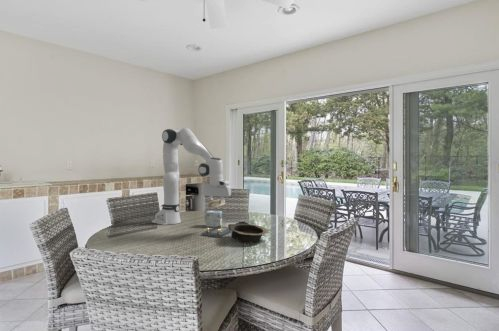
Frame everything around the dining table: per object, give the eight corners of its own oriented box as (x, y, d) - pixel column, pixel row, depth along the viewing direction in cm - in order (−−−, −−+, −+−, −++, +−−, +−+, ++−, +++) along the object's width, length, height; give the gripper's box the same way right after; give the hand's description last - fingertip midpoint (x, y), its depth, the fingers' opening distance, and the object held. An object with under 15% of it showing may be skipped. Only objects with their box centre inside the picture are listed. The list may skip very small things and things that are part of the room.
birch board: (208, 206, 188) (208, 202, 188) (218, 203, 200) (218, 199, 200) (215, 207, 186) (214, 202, 186) (225, 204, 198) (225, 199, 198)
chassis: (201, 235, 187) (201, 228, 187) (218, 228, 206) (218, 221, 206) (220, 237, 182) (220, 230, 181) (235, 230, 201) (235, 223, 201)
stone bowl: (222, 235, 185) (223, 221, 185) (257, 235, 194) (258, 221, 195) (234, 246, 162) (236, 230, 162) (274, 245, 172) (275, 229, 172)
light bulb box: (222, 225, 216) (222, 210, 216) (220, 227, 209) (220, 212, 209) (208, 224, 217) (208, 210, 217) (205, 226, 210) (206, 211, 210)
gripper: (200, 182, 194) (201, 202, 195) (227, 182, 186) (227, 204, 186) (205, 181, 200) (206, 201, 200) (232, 181, 191) (232, 202, 192)
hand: (216, 202), depth 193 cm, fingers closed on birch board, 5 cm apart
